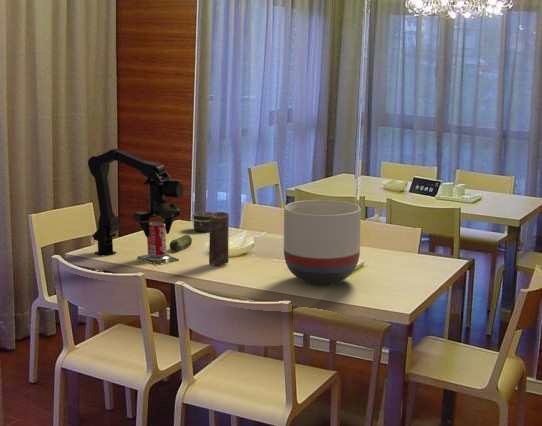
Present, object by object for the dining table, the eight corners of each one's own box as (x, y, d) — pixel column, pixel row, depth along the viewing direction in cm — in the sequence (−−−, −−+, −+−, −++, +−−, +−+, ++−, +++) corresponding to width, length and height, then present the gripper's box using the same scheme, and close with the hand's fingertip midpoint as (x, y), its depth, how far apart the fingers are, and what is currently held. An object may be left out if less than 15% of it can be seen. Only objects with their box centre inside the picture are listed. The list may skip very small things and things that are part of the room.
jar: (190, 232, 366) (190, 215, 364) (196, 227, 375) (196, 211, 374) (212, 233, 364) (212, 216, 362) (218, 228, 373) (217, 211, 372)
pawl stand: (137, 257, 324) (137, 254, 323) (158, 253, 330) (158, 250, 330) (157, 265, 314) (157, 261, 313) (178, 260, 320) (178, 257, 320)
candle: (232, 263, 316) (232, 212, 312) (223, 268, 309) (222, 216, 305) (214, 261, 319) (214, 210, 315) (205, 266, 313) (204, 214, 308)
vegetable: (178, 253, 331) (178, 241, 330) (167, 252, 333) (167, 240, 332) (195, 245, 344) (195, 233, 343) (184, 244, 346) (184, 232, 345)
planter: (371, 289, 284) (373, 212, 279) (297, 296, 277) (297, 217, 271) (342, 268, 310) (344, 198, 304) (274, 274, 302) (274, 202, 296)
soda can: (163, 258, 318) (162, 225, 315) (145, 257, 319) (144, 224, 316) (168, 253, 325) (167, 221, 322) (151, 253, 326) (150, 220, 323)
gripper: (147, 202, 305) (148, 243, 308) (188, 196, 317) (189, 235, 320) (131, 198, 313) (132, 238, 316) (171, 192, 325) (172, 230, 328)
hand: (157, 235), depth 320 cm, fingers open, 9 cm apart
